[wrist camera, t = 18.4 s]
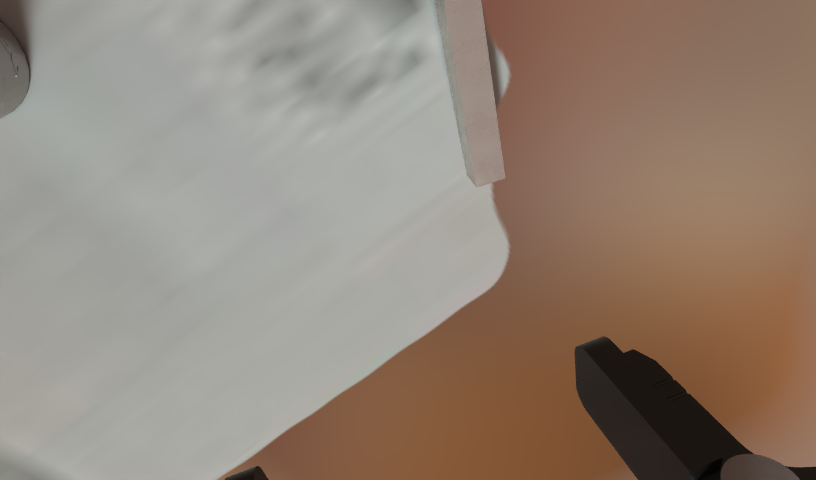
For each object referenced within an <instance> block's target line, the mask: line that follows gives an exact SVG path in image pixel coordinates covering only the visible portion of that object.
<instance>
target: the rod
mask: <svg viewBox="0 0 816 480" xmlns="http://www.w3.org/2000/svg"><path fill="white" fill-rule="evenodd" d="M435 5H436V10H437V16H438V21H439V26H440V32H441V37H442V43H443V48H444V54H445V59H446V64H447V70H448V75H449V81H450V86H451V91H452V97H453V102H454V108H455V113H456V119H457V124H458V129H459V135H460V140H461V146H462V151H463V157H464V162H465V167H466V173H467V176H468V177H469V179H470V180H471V181H472V182H473V184H474V185H475V186H476V187H479V186H483V185H486V184H489V183H492V182H495V181H498V180H501V179H504V178H505V171H504V164H503V157H502V149H501V142H500V135H499V127H498V120H497V112H496V105H495V98H494V90H493V83H492V76H491V68H490V61H489V54H488V46H487V39H486V32H485V24H484V17H483V10H482V2H481V0H435Z"/></svg>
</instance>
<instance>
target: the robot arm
mask: <svg viewBox="0 0 816 480" xmlns="http://www.w3.org/2000/svg"><path fill="white" fill-rule="evenodd" d="M29 82H30V81H29V67H28V64H27V60H26V57H25V54H24V52H23V50H22V49H21V47H20V45H19V43H18V41H17V40H16V39H15V37H14V36H13V35H12V33H11V32H10V31H9V29H8V28H7V27H6V26H5V25H4V24H3V23H2V22H1V21H0V118H2V117H4V116H5V115H7V114H9V113H11V112H12V111H14V110H15V109H16V108H17V107H18V106H19V105H20V104H21V103H22V101H23V100H24V98H25V96H26V94H27V91H28V86H29ZM575 369H576V387H577V392H578V395H579V398H580V400H581V402H582V404H583V406H584V408H585V409H586V411H587V412H588V414H589V415H590V416H591V418H592V419H593V420H594V422H595V423H596V424H597V426H598V427H599V428H600V430H601V431H602V432H603V434H604V435H605V436H606V438H607V439H608V440H609V441H610V443H611V444H612V446H613V447H614V448H615V450H616V451H617V452H618V454H619V455H620V456H621V458H622V459H623V460H624V462H625V463H626V464H627V465H628V467H629V468H630V470H631V471H632V472H633V473H634V475H635V476H636V477H637V479H638V480H816V467H803V468H800V467H797V468H796V467H787V466H784V465H782V464H781V463H779V462H777V461H775V460H773V459H770V458H767V457H764V456H761V455H755V454H753V453H752V452H750V451H749V450H747V449H746V448H745V447H744V446H743V445H742V444H740V443H739V442H738V441H737V440H736V439H735V438H734V437H733V436H732V435H731V434H730V433H729V432H728V431H727V430H726V429H725V428H724V427H723V426H722V425H721V424H720V423H719V422H718V421H717V420H716V419H715V418H714V417H713V416H712V415H710V413H709V412H708V411H707V410H705V408H703V407H702V406H701V405H700V404H699V403H698V402H697V401H696V400H695V399H694V398H693V397H692V396H691V395H690V394H687V392H686V390H685V389H684V388H683V387H682V386H681V385H680V384H679V383H678V382H677V381H676V380H675V381H674V380H673V378H672V376H671V375H670V374H669V373H667V371H666V370H665V369H664V368H662V366H660V365H659V364H658V363H657V362H656V361H655V360H653V359H651V358H649V357H648V356H645V355H644V354H642V353H640V352H638V351H636V350H630V351H628V352H625V353H623V352H622V351H621V350H620V349H619V348H618V347H617V346H616V345H615V344H614V343H613V342H612V341H611V340H610V339H609V338H607V337H601V338H598V339H595V340H592V341H590V342H587V343H585V344H582V345H579V346H577V347H576V348H575ZM225 480H268V478H267V477H266V475H265V474H264V472H263V470H262V469H261V468H260V467H259V466H256V467H253V468H251V469H248V470H246V471H243V472H240V473H238V474H235V475H232V476H230V477H227V478H225Z"/></svg>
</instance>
